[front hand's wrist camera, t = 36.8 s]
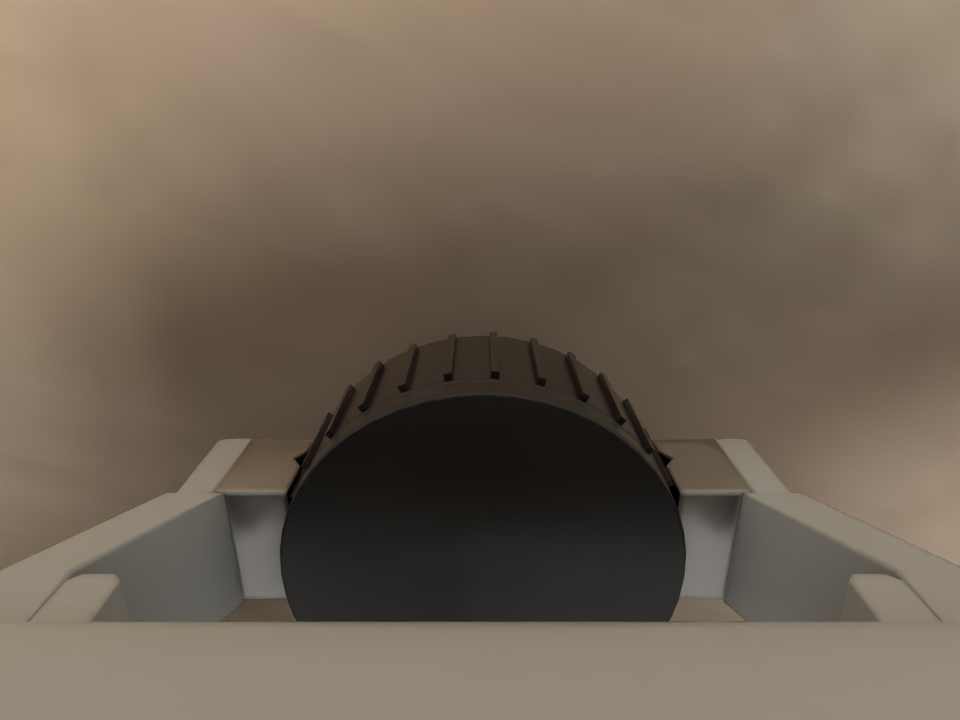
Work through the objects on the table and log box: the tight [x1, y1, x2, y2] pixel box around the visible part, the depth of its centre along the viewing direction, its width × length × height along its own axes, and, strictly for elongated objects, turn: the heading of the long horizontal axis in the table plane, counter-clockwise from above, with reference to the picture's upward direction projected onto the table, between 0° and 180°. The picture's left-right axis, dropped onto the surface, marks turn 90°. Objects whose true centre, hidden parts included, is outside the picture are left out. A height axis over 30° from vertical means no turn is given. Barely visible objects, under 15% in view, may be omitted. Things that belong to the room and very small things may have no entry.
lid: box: [280, 332, 686, 622], centre depth 9 cm, size 6×6×2 cm
